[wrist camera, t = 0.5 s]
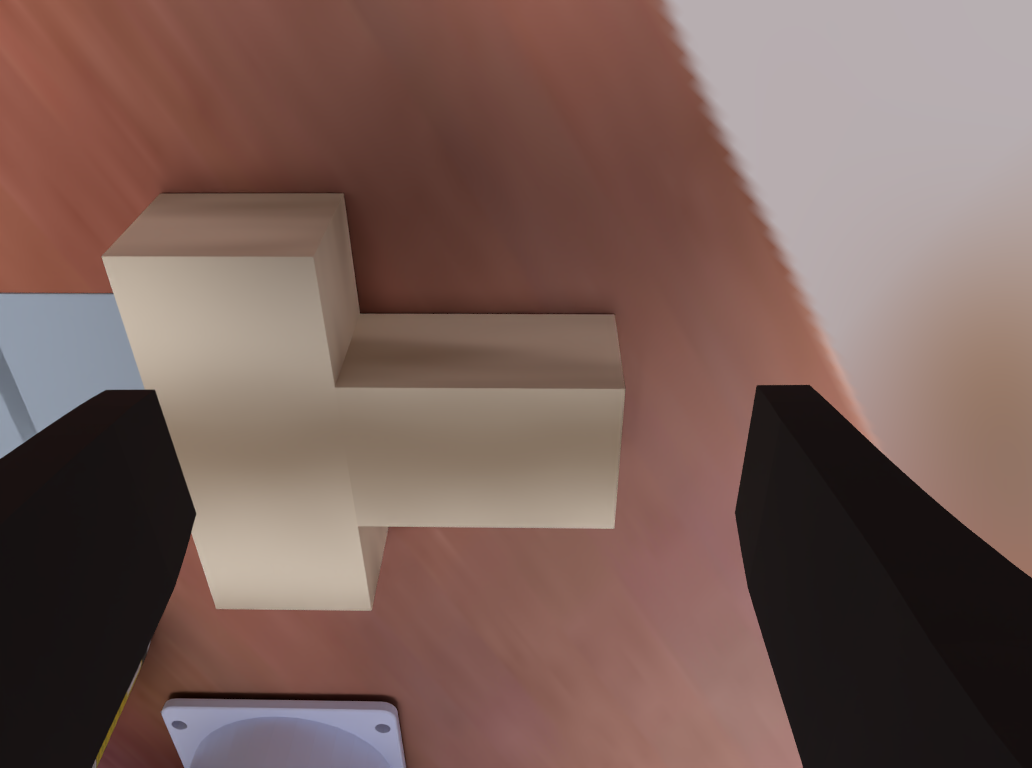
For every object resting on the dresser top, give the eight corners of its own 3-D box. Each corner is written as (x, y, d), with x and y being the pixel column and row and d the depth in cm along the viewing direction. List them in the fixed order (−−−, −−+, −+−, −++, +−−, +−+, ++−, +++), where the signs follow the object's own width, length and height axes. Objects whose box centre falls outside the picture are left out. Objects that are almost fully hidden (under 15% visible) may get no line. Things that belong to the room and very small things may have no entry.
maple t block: (600, 528, 24) (607, 613, 21) (249, 525, 24) (216, 609, 22) (622, 192, 18) (636, 256, 16) (159, 193, 18) (101, 256, 16)
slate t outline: (289, 530, 25) (286, 537, 24) (-82, 526, 25) (-88, 533, 25) (204, 165, 18) (200, 171, 18) (-292, 166, 18) (-303, 171, 18)
